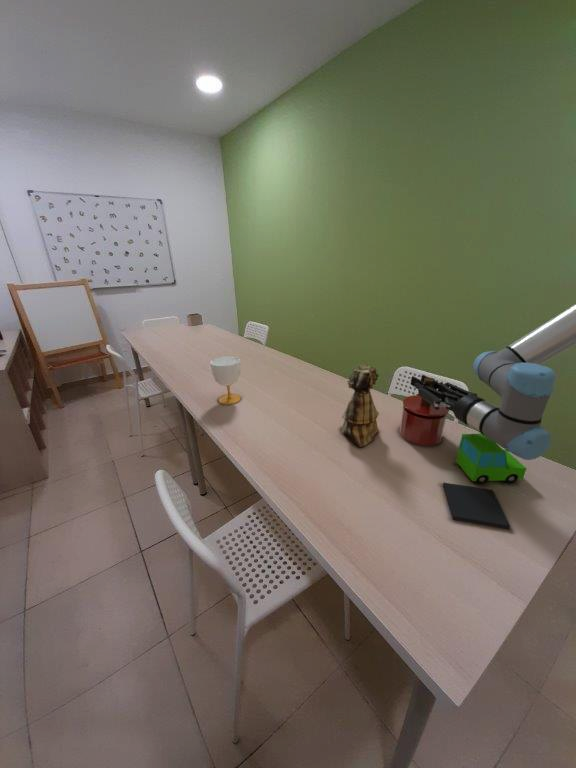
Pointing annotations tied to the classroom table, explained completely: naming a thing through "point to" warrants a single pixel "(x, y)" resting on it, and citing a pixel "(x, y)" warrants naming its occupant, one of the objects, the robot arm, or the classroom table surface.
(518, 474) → the toy car
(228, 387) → the cup
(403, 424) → the pot
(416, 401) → the lid
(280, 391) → the classroom table surface
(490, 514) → the plate
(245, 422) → the classroom table surface
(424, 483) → the classroom table surface
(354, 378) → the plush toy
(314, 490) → the classroom table surface
